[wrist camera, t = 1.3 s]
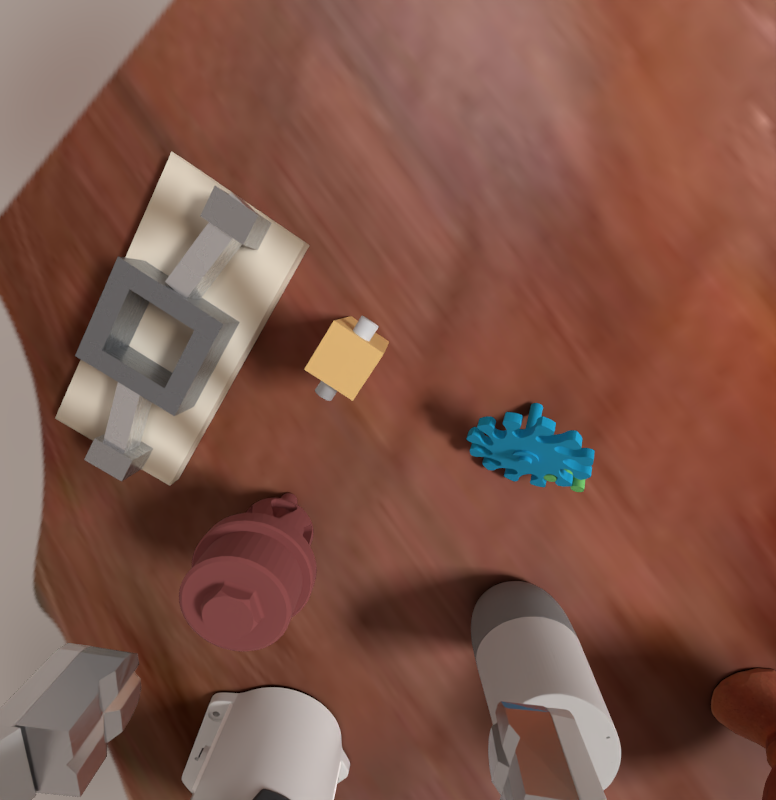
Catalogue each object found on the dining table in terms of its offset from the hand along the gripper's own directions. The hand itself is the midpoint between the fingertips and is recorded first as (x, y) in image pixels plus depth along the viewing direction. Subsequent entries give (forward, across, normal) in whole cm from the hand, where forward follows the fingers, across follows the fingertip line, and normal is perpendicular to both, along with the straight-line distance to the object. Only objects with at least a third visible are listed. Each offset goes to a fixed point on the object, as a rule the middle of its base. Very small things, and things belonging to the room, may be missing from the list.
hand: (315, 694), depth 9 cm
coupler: (+27, +3, -3) cm, 28 cm away
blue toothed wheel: (+27, -13, +3) cm, 30 cm away
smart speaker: (+26, -16, +22) cm, 38 cm away
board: (+27, +19, -2) cm, 33 cm away
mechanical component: (+27, +9, +15) cm, 32 cm away
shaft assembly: (+26, +19, -3) cm, 32 cm away
